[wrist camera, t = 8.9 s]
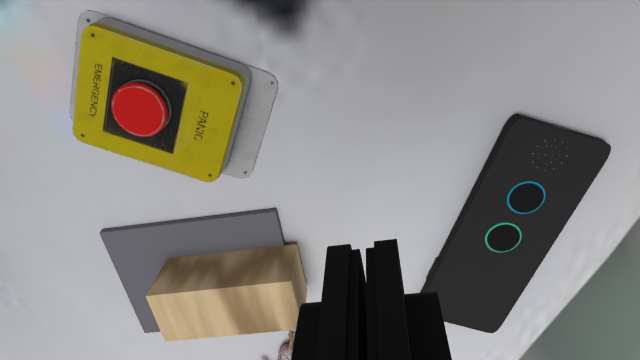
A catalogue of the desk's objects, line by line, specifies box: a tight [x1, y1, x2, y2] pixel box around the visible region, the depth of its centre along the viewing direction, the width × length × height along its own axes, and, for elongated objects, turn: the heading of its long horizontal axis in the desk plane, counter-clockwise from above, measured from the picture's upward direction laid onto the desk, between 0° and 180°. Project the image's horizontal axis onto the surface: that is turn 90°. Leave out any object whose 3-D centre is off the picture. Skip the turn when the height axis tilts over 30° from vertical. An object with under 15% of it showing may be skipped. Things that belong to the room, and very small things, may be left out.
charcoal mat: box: [100, 208, 285, 333], centre depth 42 cm, size 16×12×1 cm
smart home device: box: [420, 114, 611, 333], centre depth 38 cm, size 8×2×20 cm
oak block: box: [146, 244, 307, 341], centre depth 39 cm, size 5×5×12 cm
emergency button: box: [70, 10, 278, 182], centre depth 33 cm, size 9×4×15 cm
